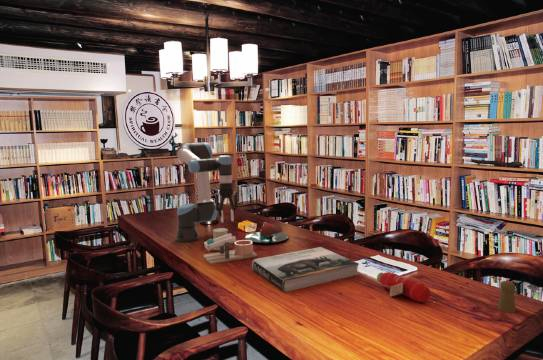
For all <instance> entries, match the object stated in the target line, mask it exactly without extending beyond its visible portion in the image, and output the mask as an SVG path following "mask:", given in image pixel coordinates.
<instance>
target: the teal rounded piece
mask: <svg viewBox="0 0 543 360" xmlns="http://www.w3.org/2000/svg"><path fill="white" fill-rule="evenodd" d="M283 231H284V229H283V228H282V227H281V225H277V224H272V223H269V222H265V221H263V225H262V226H261V227H260V231H258V232H252V233H249V234H246V236H245V240H249V241H252V242H255V243H261V244H262V243H263V244H269V243H278V242H282V241H285V240H287V239H288V238H289V236H288V234H286V233H283Z"/></svg>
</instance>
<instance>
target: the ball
mask: <svg viewBox="0 0 543 360" xmlns="http://www.w3.org/2000/svg"><path fill="white" fill-rule="evenodd" d="M206 241H207V244H208V245H209V244H212V243H214V240H213V238H209V239H207V240H206Z"/></svg>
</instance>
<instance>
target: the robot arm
mask: <svg viewBox="0 0 543 360" xmlns="http://www.w3.org/2000/svg"><path fill="white" fill-rule="evenodd" d="M175 154H176V157H177V159H178V160H179V161H180V162H182V163H185V164H186V165H187V167H188V168H187V169H188V172H189V173H191V174H192V173H193V174H195V175H196V176H195V177H196V184H197V185H196V186H197V196H198V197H197V199H198V201H196V205H195V204H194V203H185V204H181V205H179V206H178V207H177V209H176V216H177V232H176V236H175V241H176V242H178V243H179V242H180V243H189V242H190V243H191V242H195V241H197V240H199V238H200V235H199V232H198V230H197V227H196V224H198V223H205V222H211V221H215V220H216V218H217V216H219V217H220V223H222V224H223V223H224V211H223V207H224V202H225V200H226V199H228V200H229V204H230V206H231V207H230V208H231V209H230V220H231V222H234V221H235V219H234V216H235V215H236V210H237V209H238V208H239V205H238V204H239V203H238V191H234V190H233V166H232V165H233V161H232V156H231V155H219V156H218V157H216V158H213V149H212V147H211V145H210V143H209V142H204V141H203V142H202V141H201V142H187V143H182V144H181V145H180V146H178V147H177V149H176V152H175ZM210 172H218V181H219V187H218V188H219V191H218V192H217V193H214V197H215V201H214V200H213V199H212V194H211V193H212V192H211V183H210ZM232 195H233V197H232ZM220 196H221V197H220ZM219 197H220V200H219Z"/></svg>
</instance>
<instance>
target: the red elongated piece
mask: <svg viewBox="0 0 543 360" xmlns="http://www.w3.org/2000/svg"><path fill="white" fill-rule="evenodd" d="M376 281H377V282H378V283H379V285H380V286H382V287H384V288H385V289H386V290H388V291H389V297H391V298H394V297H397V296H401V295H402V296H404V297H406V298H409V299H410V300H412V301H414V302H417V303H425V302H427V301H428V300H430V296H431V291H430V290H431V289H430V288H429V287H428V286H427V285H425V284H424V283H422V282H419V281H416V280H413V279H408V278H406V277H403V276H401V275H400V274H397V273H394V272H389V271H388V272H387V271H386V272H379V273H378V274H377V276H376Z"/></svg>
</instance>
